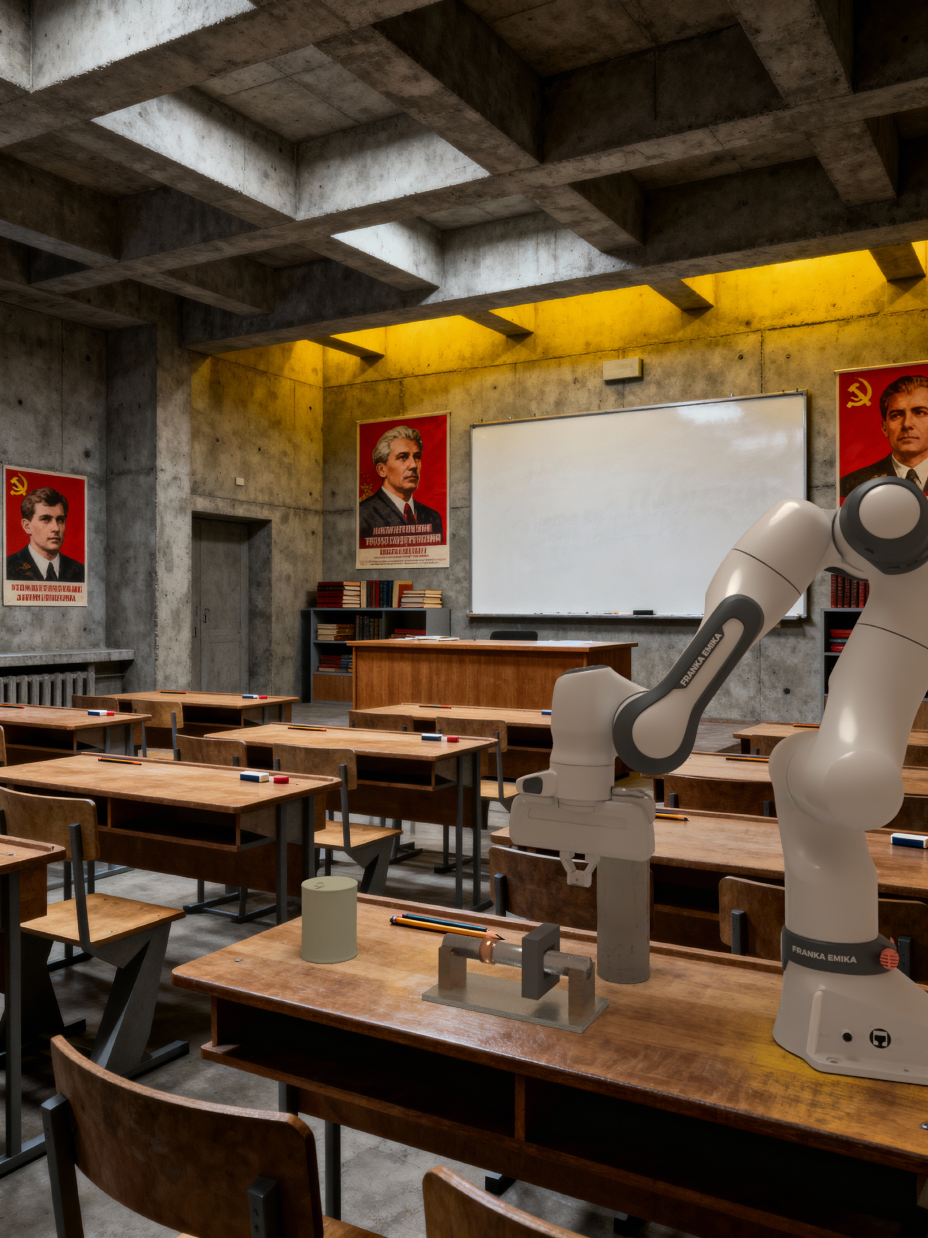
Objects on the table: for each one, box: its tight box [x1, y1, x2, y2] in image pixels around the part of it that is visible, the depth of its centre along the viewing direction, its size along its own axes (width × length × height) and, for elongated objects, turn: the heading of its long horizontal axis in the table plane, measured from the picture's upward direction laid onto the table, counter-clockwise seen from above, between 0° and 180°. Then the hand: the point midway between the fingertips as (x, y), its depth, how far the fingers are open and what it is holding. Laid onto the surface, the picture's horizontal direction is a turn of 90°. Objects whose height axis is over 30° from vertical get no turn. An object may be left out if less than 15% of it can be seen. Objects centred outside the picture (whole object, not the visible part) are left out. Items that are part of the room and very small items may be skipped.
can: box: [299, 875, 359, 965], centre depth 150 cm, size 9×9×12 cm
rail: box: [421, 932, 610, 1034], centre depth 130 cm, size 24×11×8 cm, turn 62°
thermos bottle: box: [596, 796, 651, 984], centre depth 142 cm, size 8×8×28 cm
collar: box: [521, 921, 561, 1000], centre depth 128 cm, size 2×8×8 cm, turn 152°
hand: (579, 885), depth 126 cm, fingers closed
